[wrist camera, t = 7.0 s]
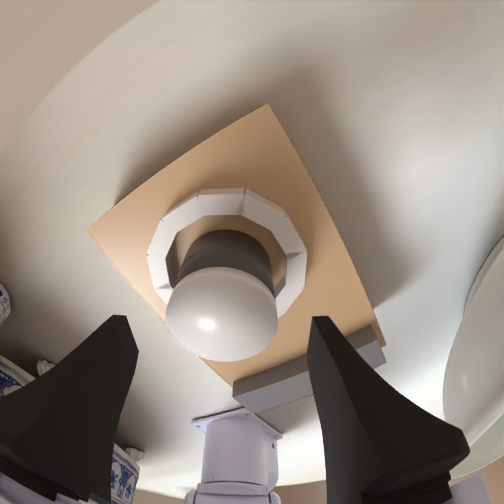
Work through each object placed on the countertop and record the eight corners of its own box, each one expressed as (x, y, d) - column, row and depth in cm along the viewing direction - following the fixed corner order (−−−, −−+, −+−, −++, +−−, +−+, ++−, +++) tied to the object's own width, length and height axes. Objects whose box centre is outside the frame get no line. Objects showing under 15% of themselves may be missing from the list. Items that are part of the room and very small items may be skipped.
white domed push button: (268, 225, 15) (276, 273, 11) (272, 301, 17) (279, 358, 13) (176, 233, 15) (152, 281, 11) (193, 306, 17) (180, 362, 13)
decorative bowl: (183, 470, 42) (175, 536, 28) (82, 456, 45) (68, 507, 31) (23, 296, 22) (-52, 402, 9) (-50, 315, 25) (-93, 373, 12)
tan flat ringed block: (370, 312, 23) (392, 359, 18) (248, 365, 26) (248, 415, 21) (263, 104, 16) (270, 102, 11) (112, 206, 18) (73, 241, 13)
